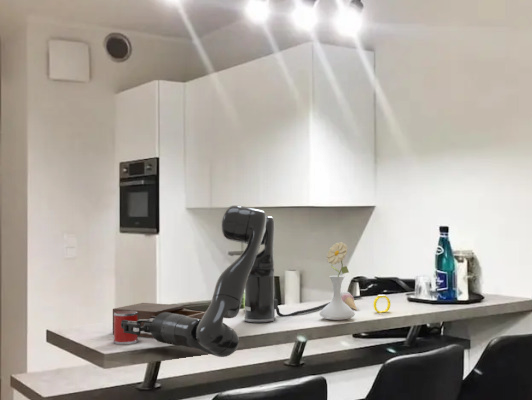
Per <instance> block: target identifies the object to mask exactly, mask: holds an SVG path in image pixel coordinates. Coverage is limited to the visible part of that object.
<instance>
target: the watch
mask: <svg viewBox="0 0 532 400" xmlns="http://www.w3.org/2000/svg"><path fill="white" fill-rule="evenodd" d="M381 298H383V299H384V298H385V299H386V301H387V306H386V308H385V309H384V310H378V308H377V303H378V301H379V299H381ZM373 309H374V311H375V312H376V313H378V314H383V313H388V312H389V310H390V309H391V300H390V298H389V297H388V296H387V295H386V294H377V296H376V297H375V298H374V301H373Z"/></svg>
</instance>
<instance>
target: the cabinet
mask: <svg viewBox="0 0 532 400" xmlns="http://www.w3.org/2000/svg"><path fill="white" fill-rule="evenodd" d="M184 308H185V306H184V304H183V305H182V304H169V303H154V302H153V303H152V302H139V303H134V304H129V305H124V306H120V307H115V308H114V307H113V308H112V335H114V312H118V311H137V312H138V314H137V320H139V319H149V317H150V316H157V315H156V314H161V313H164V312H169V311H174V310H185V309H184ZM143 325H144V322H141V327H143ZM137 337H143V338H152V339H155V338H154V337H153V335H149V334H140V335H137Z"/></svg>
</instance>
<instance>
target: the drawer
mask: <svg viewBox="0 0 532 400" xmlns="http://www.w3.org/2000/svg"><path fill="white" fill-rule="evenodd" d="M206 311H207V310H205V311H203V310H202V311H201V310H188V309H187V310H186V309H184V310H174V311H169V312H168V313H174V314H180V315H185V316H187V317H191V318H197V319H200V320H201V319H202V317H203V316H204V314H205V312H206ZM156 315H157V316H158V315H159V314H156Z"/></svg>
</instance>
